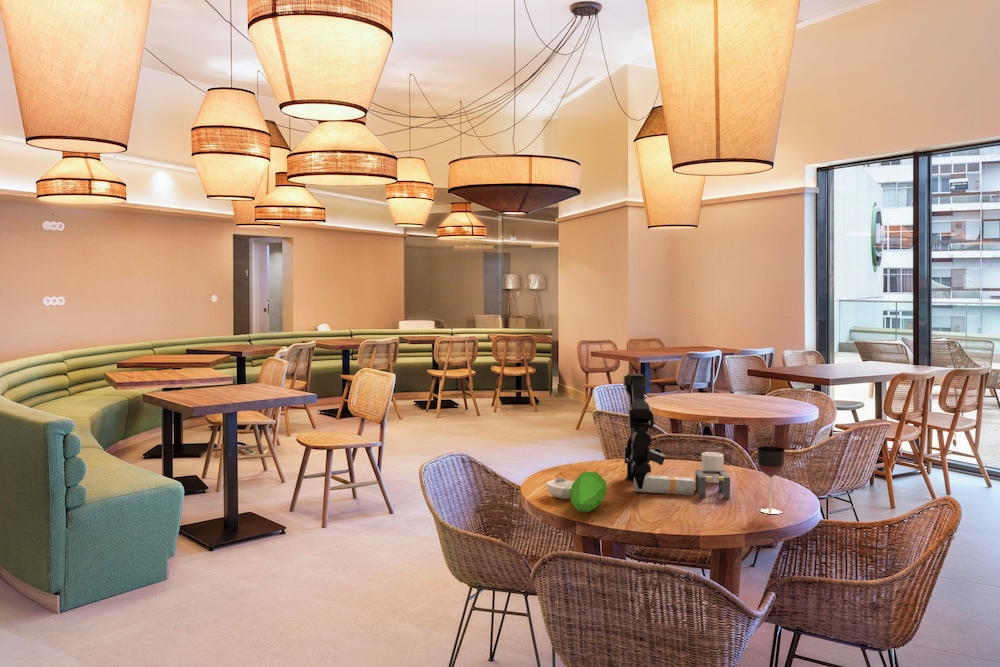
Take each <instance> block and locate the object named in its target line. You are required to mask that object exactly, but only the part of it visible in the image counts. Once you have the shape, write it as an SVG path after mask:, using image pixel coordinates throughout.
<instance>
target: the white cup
mask: <svg viewBox="0 0 1000 667" xmlns="http://www.w3.org/2000/svg"><path fill="white" fill-rule="evenodd" d="M724 456H725V454H724V453H722V452H717V451H715V452H714V451H704V452H702V453H701V467H702V469H701V470H724V458H725V457H724ZM704 475H705V476H711V477H712V480H706V483H711V484H719V480H717V476H719V474H704Z"/></svg>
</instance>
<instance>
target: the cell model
mask: <svg viewBox="0 0 1000 667" xmlns="http://www.w3.org/2000/svg"><path fill="white" fill-rule="evenodd" d="M573 482H574V481H573V480H569V479H565V478H564V477H561V476H558V477H557V478H555V479H554V480H553V479H552V480H550V481H547V482H546V486H547V491H548V493H549V494H550V495H551V496H553V497H556V498H559V499H561V500H567V499H571V485H572V484H573Z"/></svg>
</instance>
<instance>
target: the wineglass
mask: <svg viewBox="0 0 1000 667" xmlns="http://www.w3.org/2000/svg"><path fill="white" fill-rule="evenodd" d="M756 450H757V462H758V467H759V469H760V471H761V472H762V473H763V474H765V475H766V476H768V477H769V481H768V486H769V490H768V507H766V508H767V509H762V508H760V509H761V510H760V511H761V512H764V513H768V514H769V513H770V514H779V513H782V512H783V511H782V510H780V511H779V509H777V510H776V508H773V507H772V505H773V504H772V498H773V493H772V492H773V477H774V476H775V475H776V476H777V474H779V473H780V472H781V471H782V469H783V467H784V463H785V453H786V452H785V450H786V449H785V448H783V447H779V446H771V445H769V446H759V447H757V449H756ZM768 508H769V509H768ZM781 511H782V512H781Z"/></svg>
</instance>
